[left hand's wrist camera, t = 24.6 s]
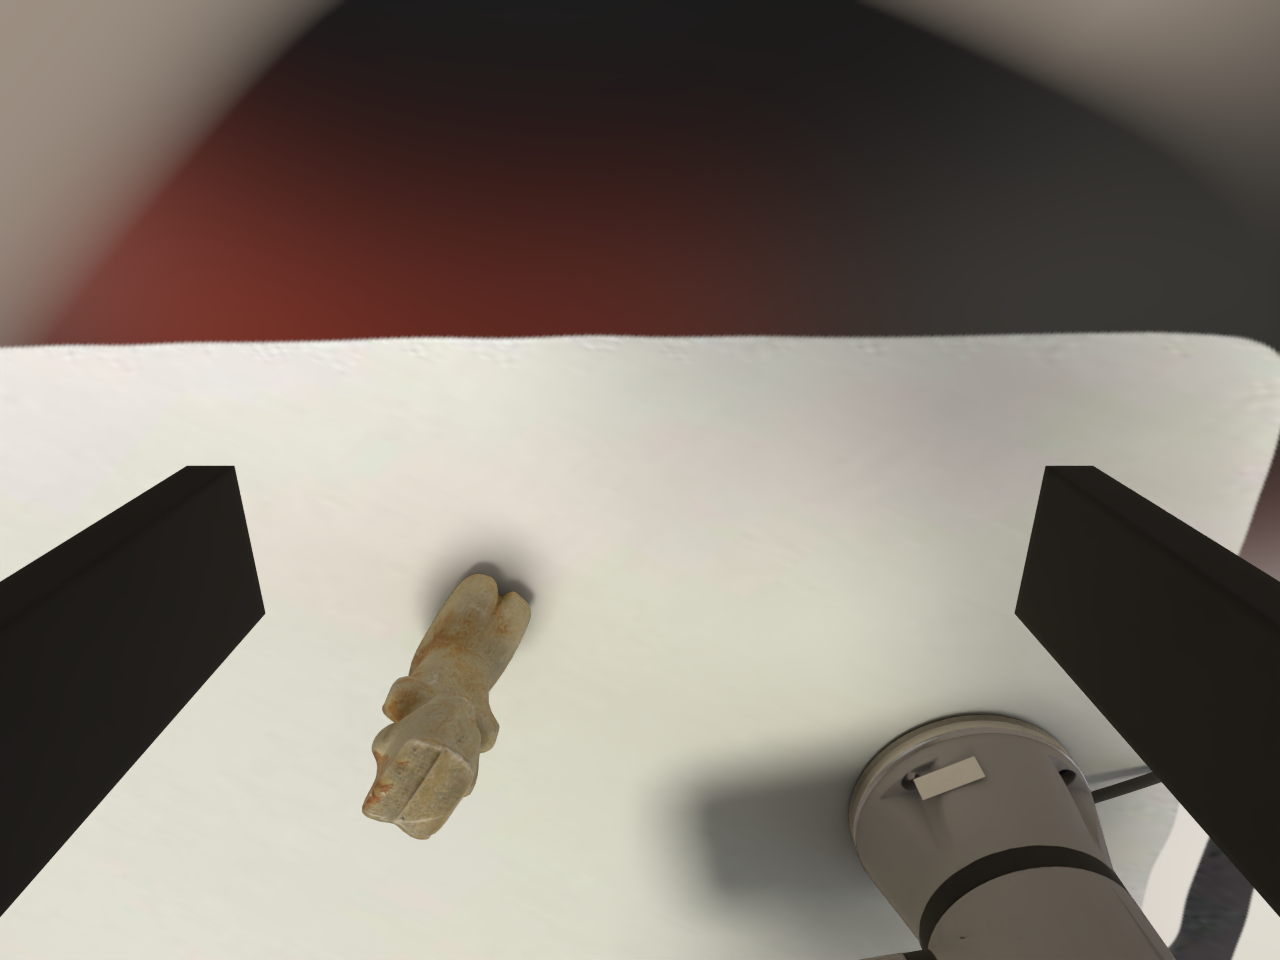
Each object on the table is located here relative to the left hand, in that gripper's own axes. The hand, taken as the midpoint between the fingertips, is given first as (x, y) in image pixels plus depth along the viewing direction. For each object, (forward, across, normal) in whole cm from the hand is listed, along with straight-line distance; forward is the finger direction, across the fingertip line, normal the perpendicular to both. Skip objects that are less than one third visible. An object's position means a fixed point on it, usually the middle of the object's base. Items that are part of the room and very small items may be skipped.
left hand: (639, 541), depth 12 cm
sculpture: (+28, -10, -19) cm, 35 cm away
